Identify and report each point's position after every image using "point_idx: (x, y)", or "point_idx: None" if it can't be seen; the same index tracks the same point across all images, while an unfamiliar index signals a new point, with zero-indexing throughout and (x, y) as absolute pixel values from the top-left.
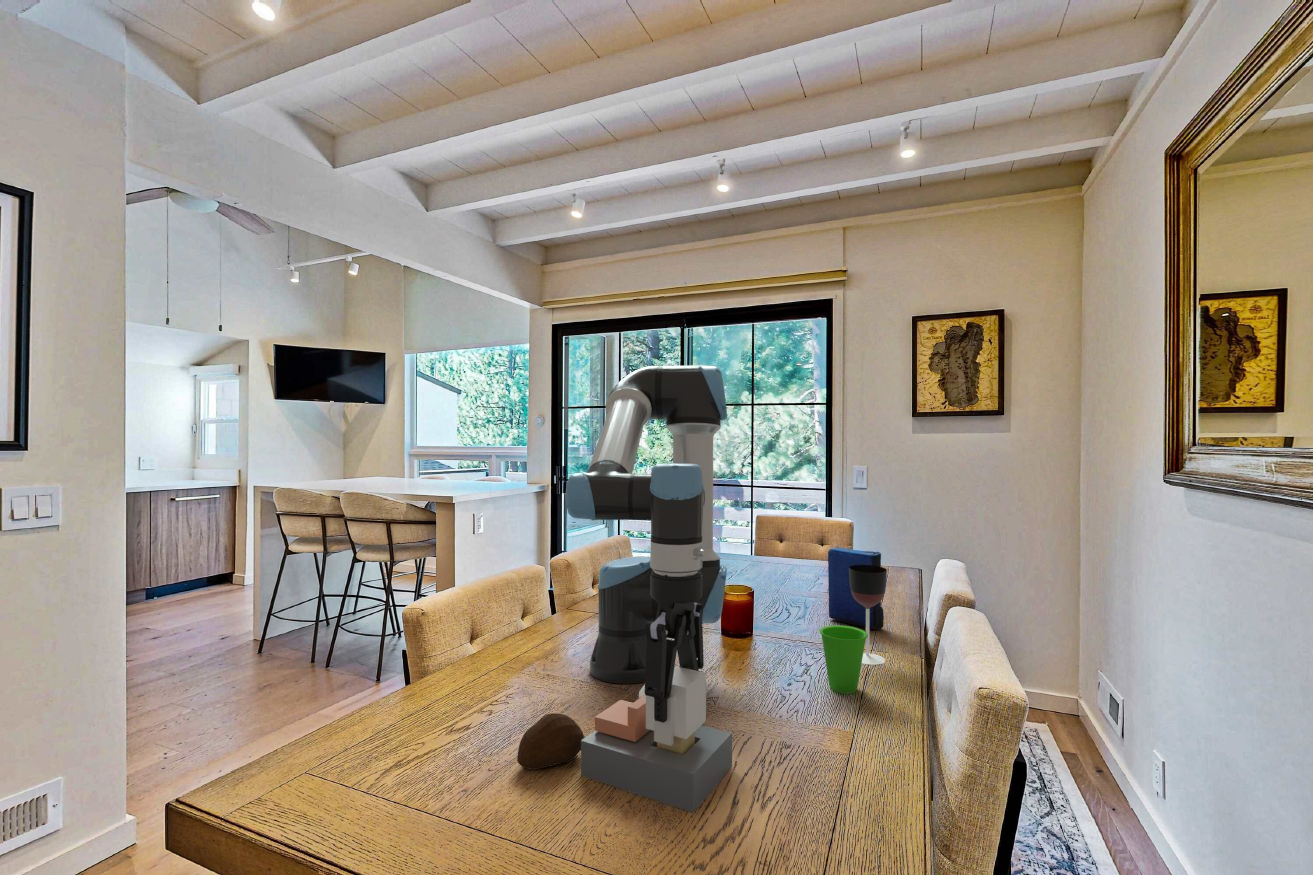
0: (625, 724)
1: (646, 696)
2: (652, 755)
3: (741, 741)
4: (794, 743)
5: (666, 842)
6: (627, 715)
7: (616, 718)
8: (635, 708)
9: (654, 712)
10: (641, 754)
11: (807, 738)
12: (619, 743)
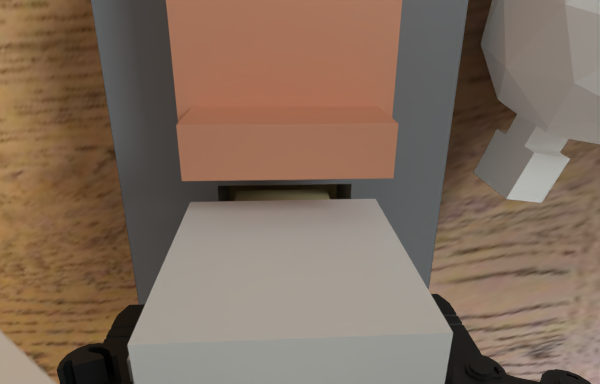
0: (182, 101)
1: (157, 278)
2: (163, 225)
3: (529, 262)
4: (559, 361)
5: (49, 295)
6: (263, 59)
7: (207, 28)
8: (182, 170)
9: (109, 331)
10: (147, 192)
11: (592, 375)
12: (161, 83)
